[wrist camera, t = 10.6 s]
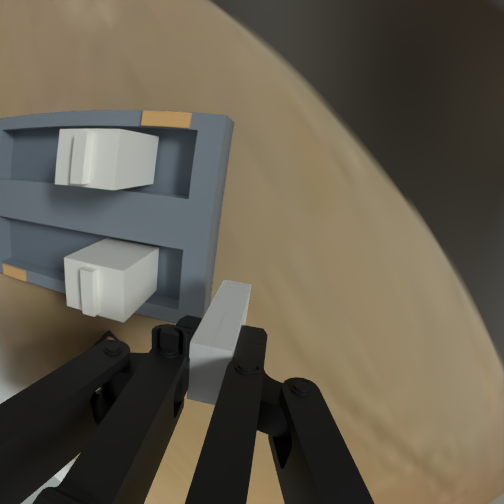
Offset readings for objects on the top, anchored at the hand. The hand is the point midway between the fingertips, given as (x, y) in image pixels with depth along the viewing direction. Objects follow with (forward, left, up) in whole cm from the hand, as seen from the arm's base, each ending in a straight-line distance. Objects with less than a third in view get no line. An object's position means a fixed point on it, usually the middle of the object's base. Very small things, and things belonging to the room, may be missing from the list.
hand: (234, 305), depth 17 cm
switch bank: (-12, +3, -5) cm, 13 cm away
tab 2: (-8, 0, -3) cm, 8 cm away
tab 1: (-8, +7, -3) cm, 11 cm away
